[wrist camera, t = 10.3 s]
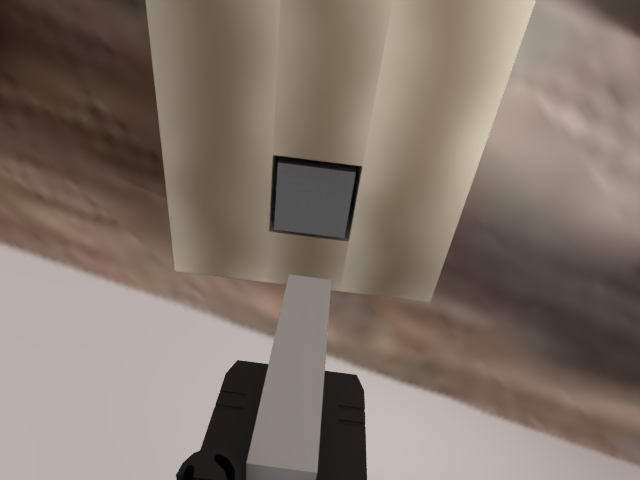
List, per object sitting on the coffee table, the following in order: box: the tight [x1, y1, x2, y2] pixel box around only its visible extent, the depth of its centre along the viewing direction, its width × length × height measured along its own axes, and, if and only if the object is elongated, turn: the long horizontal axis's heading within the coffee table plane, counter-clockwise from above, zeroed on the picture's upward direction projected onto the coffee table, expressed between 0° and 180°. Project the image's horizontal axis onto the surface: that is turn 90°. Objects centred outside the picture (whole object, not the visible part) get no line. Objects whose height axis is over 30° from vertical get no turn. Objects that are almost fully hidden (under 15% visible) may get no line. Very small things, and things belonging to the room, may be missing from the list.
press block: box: [145, 0, 536, 302], centre depth 21 cm, size 16×24×7 cm, turn 174°
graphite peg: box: [274, 156, 356, 238], centre depth 24 cm, size 4×4×6 cm
